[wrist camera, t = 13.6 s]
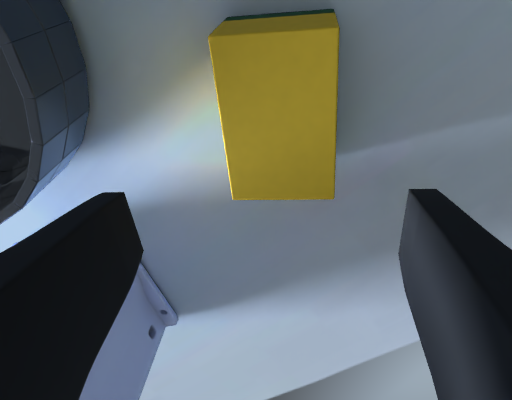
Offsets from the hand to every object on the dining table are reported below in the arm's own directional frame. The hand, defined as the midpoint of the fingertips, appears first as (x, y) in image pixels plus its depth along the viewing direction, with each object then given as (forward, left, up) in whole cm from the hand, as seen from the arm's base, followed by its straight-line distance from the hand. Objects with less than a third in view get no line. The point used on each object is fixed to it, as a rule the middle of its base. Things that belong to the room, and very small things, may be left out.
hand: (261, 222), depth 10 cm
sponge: (0, 0, -9) cm, 9 cm away
